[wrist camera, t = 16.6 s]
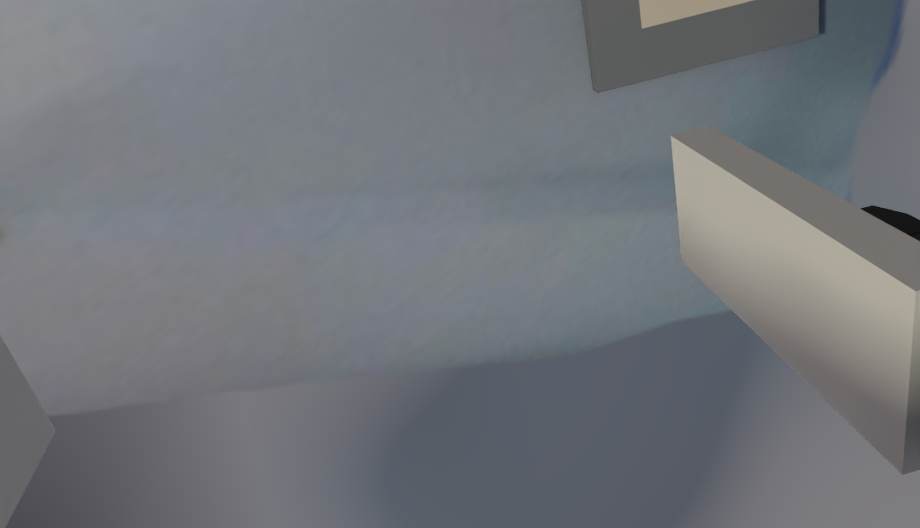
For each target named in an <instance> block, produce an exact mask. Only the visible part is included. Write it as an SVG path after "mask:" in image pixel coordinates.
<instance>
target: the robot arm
mask: <svg viewBox="0 0 920 528" xmlns="http://www.w3.org/2000/svg"><path fill="white" fill-rule="evenodd" d="M671 143H672V155H673V166H674V178H675V189H676V201H677V212H678V224H679V235H680V247H681V258H682V262H683V263H684V264H685V265H686V266H687V267H688V268H689V269H690V270H691V271H692V272H693V273H694V274H695V275H696V276H698V277H699V278H700V279H701V280H702V281H703V282H704V283H705V284H706V285H707V286H708V287H709V288H710V289H711V290H712V291H713V292H714V293H715V294H716V295H717V296H718V297H719V298H720V299H721V300H722V301H723V302H724V303H725V304H726V305H727V306H728V307H730V308H731V309H732V310H733V311H734V312H735V313H736V314H737V315H738V316H739V317H740V318H741V319H742V320H743V321H744V322H745V323H746V324H747V325H748V326H749V327H750V328H751V329H752V330H753V331H754V332H755V333H756V334H757V335H759V337H761V338H762V339H763V340H764V341H765V342H766V343H767V344H768V345H769V346H770V347H771V348H772V349H773V350H774V351H775V352H776V353H777V354H778V355H779V356H780V357H781V358H782V359H783V360H784V361H785V362H786V363H787V364H788V365H789V366H790V367H792V368H793V369H794V370H795V371H796V372H797V373H798V374H799V375H800V376H801V377H802V378H803V379H804V380H805V381H806V382H807V383H808V384H809V385H810V386H811V387H812V388H813V389H814V390H815V391H816V392H817V393H818V394H819V395H821V396H822V398H824V399H825V400H826V401H827V402H828V403H829V404H830V405H831V406H832V407H833V408H834V409H835V410H836V411H837V412H838V413H839V414H840V415H841V416H842V417H843V418H844V419H845V420H846V421H847V422H848V423H849V424H850V425H852V427H854V429H856V430H857V431H858V432H859V433H860V434H861V435H862V436H863V437H864V438H865V439H866V440H867V441H868V442H869V443H870V444H871V445H872V446H873V447H874V448H875V449H876V450H877V451H878V452H879V453H880V454H881V455H882V456H883V457H884V458H885V459H887V460H888V461H889V462H890V463H891V464H892V465H893V466H894V467H895V468H896V469H897V470H898V471H899V472H900V473H901V474H902V475H903V474H906V473H910V472H913V471H917V470H920V220H918V219H916V218H915V217H913V216H910V215H909V214H906V213H902V212H898V211H893V210H889V209H885V208H880V207H877V206H869V207H865V208H861V209H860V208H858V207H856V206H854V205H852V204H850V203H849V202H847V201H845V200H843V199H841V198H839V197H838V196H836V195H834V194H832V193H830V192H829V191H827V190H825V189H823V188H821V187H819V186H818V185H816V184H814V183H812V182H810V181H808V180H807V179H805V178H803V177H801V176H799V175H797V174H796V173H794V172H792V171H790V170H788V169H786V168H785V167H783V166H781V165H779V164H777V163H775V162H774V161H772V160H770V159H768V158H766V157H764V156H763V155H761V154H759V153H757V152H755V151H754V150H752V149H750V148H748V147H746V146H744V145H743V144H741V143H739V142H737V141H735V140H733V139H732V138H730V137H728V136H726V135H724V134H722V133H721V132H719V131H717V130H715V129H713V128H711V127H710V126H707V127H703V128H699V129H695V130H691V131H688V132H684V133H680V134H676V135H672V136H671ZM55 432H56V431H55V429H54V427H53V425H52V423H51V422H50V420H49V418H48V417H47V415H46V413H45V411H44V410H43V408H42V406H41V405H40V403H39V401H38V399H37V398H36V396H35V394H34V393H33V391H32V389H31V387H30V386H29V384H28V382H27V380H26V379H25V377H24V375H23V374H22V372H21V370H20V368H19V367H18V365H17V363H16V362H15V360H14V358H13V356H12V355H11V353H10V351H9V350H8V348H7V346H6V344H5V343H4V341H3V339H2V337H1V336H0V528H5V527H6V525H7V523H8V521H9V519H10V517H11V515H12V514H13V512H14V510H15V508H16V506H17V504H18V502H19V500H20V498H21V496H22V495H23V493H24V491H25V489H26V487H27V485H28V483H29V481H30V479H31V477H32V476H33V473H34V472H35V470H36V468H37V466H38V464H39V462H40V460H41V458H42V456H43V455H44V452H45V451H46V449H47V447H48V445H49V443H50V441H51V439H52V437H53V435H54V434H55Z"/></svg>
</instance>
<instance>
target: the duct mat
mask: <svg viewBox="0 0 920 528" xmlns="http://www.w3.org/2000/svg"><path fill="white" fill-rule="evenodd" d="M581 1H582V8H583V16H584V23H585V31H586V39H587V46H588V54H589V61H590V69H591V77H592V84H593V90H594V91H596V92H597V93H599V92H603V91H607V90H611V89H615V88H619V87H623V86H627V85H630V84H634V83H638V82H642V81H646V80H650V79H654V78H658V77H662V76H665V75H669V74H673V73H677V72H681V71H685V70H689V69H693V68H697V67H701V66H704V65H708V64H712V63H716V62H720V61H724V60H728V59H732V58H736V57H739V56H743V55H747V54H751V53H755V52H759V51H763V50H767V49H771V48H775V47H778V46H782V45H786V44H790V43H794V42H798V41H802V40H806V39H810V38H813V37H817V36H819V0H581Z"/></svg>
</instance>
